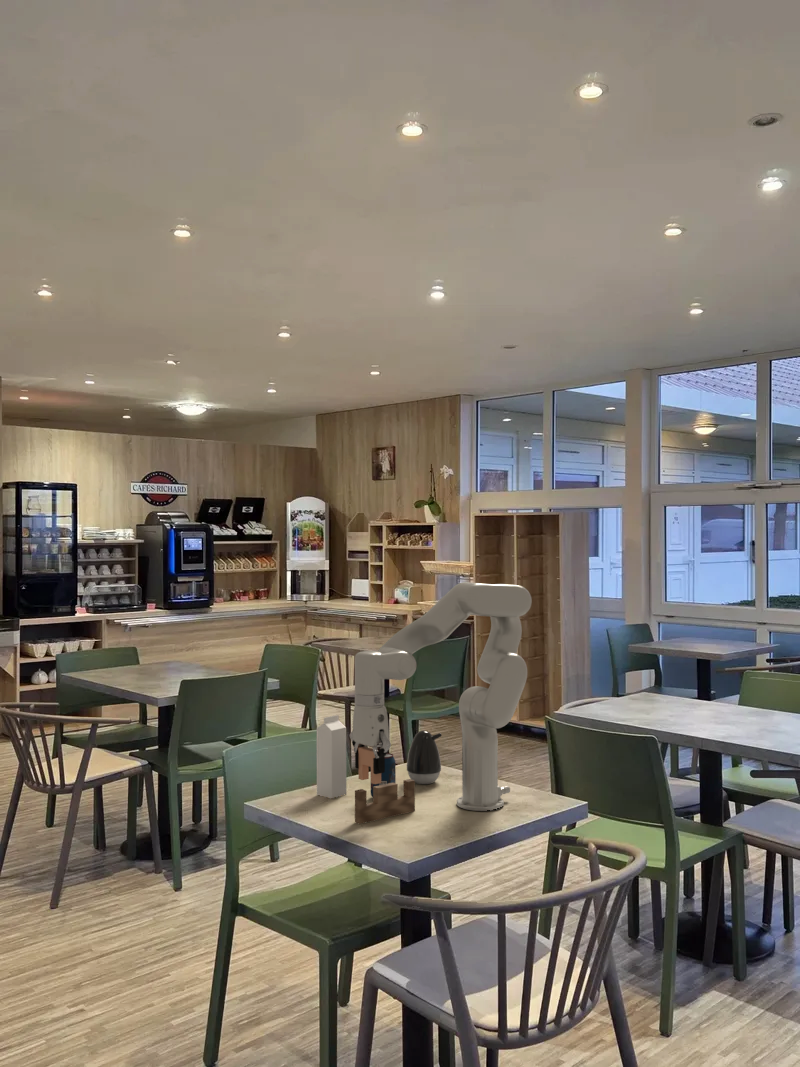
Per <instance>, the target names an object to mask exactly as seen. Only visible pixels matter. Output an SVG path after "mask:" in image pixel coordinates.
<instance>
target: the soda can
mask: <svg viewBox="0 0 800 1067" xmlns="http://www.w3.org/2000/svg"><path fill="white" fill-rule="evenodd" d="M396 769H397V768H396V759H395V757H394V753H391V752H387V754H386V757H385V772H384V773H381V783H379V784H373V783H371V782H370V796H371V797H372V799H373V787H374V786H379V785H383V784H388V783H396V782H397V781H396ZM396 784H397V783H396Z"/></svg>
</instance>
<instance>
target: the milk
mask: <svg viewBox="0 0 800 1067" xmlns="http://www.w3.org/2000/svg"><path fill="white" fill-rule="evenodd" d="M339 716H340V715H339V714H335V715H331V716H326V717H323V723H322V724H321V725H319V726H318V727H316V795H317V796H318V795H320V797H322V796H325V797H324V798H326V797H329V798H328V799H331V798H333V799H335V798H334V797H336V798H339V797H342V796H341V795H343V796H345V795H344V794H346V795H347V727H346V726H345V725H344V724H343V722H341V721H340V719H339V718H340V717H339ZM338 796H339V797H338Z"/></svg>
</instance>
